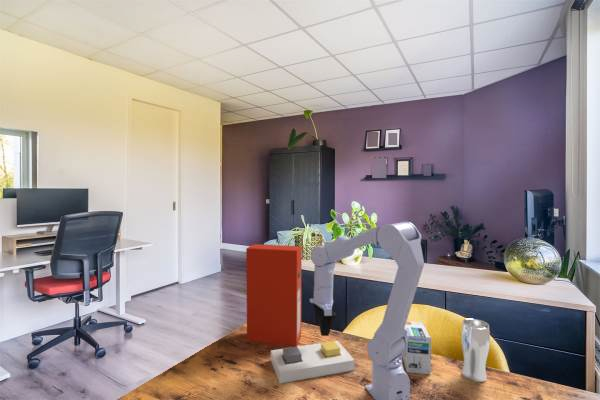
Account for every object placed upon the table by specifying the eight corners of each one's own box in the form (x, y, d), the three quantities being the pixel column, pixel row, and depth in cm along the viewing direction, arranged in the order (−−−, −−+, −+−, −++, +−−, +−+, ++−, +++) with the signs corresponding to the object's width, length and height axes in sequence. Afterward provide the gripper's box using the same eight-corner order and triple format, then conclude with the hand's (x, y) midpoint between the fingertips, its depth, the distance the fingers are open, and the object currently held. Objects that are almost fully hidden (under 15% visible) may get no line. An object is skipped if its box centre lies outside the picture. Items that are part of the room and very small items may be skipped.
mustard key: (340, 358, 95) (340, 348, 95) (326, 360, 94) (326, 350, 93) (334, 350, 99) (334, 341, 99) (320, 352, 98) (321, 343, 98)
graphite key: (301, 364, 91) (301, 354, 91) (286, 366, 90) (286, 356, 90) (297, 356, 96) (297, 346, 95) (282, 358, 94) (282, 348, 94)
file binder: (296, 347, 105) (296, 250, 104) (246, 341, 109) (246, 248, 107) (301, 335, 113) (301, 245, 111) (254, 331, 116) (254, 243, 115)
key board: (354, 370, 92) (354, 360, 92) (279, 383, 86) (279, 372, 86) (337, 349, 104) (337, 340, 103) (270, 360, 97) (270, 350, 97)
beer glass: (492, 385, 86) (494, 330, 85) (464, 381, 87) (466, 327, 86) (483, 370, 92) (484, 319, 92) (457, 367, 94) (458, 317, 93)
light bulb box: (431, 375, 90) (432, 337, 89) (406, 373, 91) (407, 335, 90) (422, 355, 100) (423, 321, 100) (400, 353, 102) (401, 320, 101)
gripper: (306, 277, 103) (305, 318, 103) (314, 293, 88) (313, 341, 89) (328, 277, 104) (326, 318, 104) (339, 293, 89) (338, 340, 90)
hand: (322, 329), depth 97 cm, fingers open, 7 cm apart
